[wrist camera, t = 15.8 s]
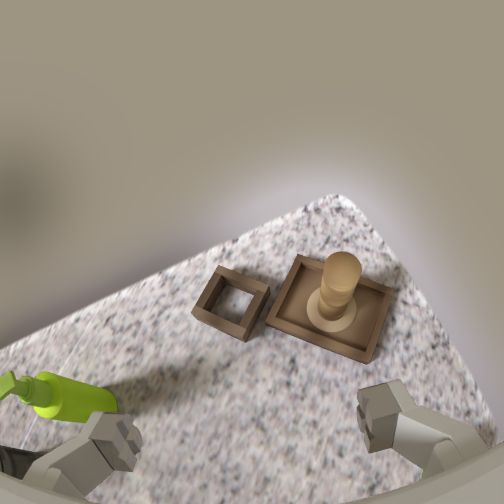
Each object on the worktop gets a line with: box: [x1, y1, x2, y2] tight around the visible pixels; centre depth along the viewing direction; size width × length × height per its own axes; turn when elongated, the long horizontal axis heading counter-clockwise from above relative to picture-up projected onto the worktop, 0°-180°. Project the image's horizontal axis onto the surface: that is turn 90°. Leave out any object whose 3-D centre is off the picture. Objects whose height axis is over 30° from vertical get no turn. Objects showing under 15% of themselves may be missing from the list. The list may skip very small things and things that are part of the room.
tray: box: [265, 254, 394, 364], centre depth 42 cm, size 15×11×2 cm
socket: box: [191, 265, 271, 342], centre depth 44 cm, size 8×8×3 cm
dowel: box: [317, 252, 362, 321], centre depth 37 cm, size 4×4×12 cm
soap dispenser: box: [0, 371, 117, 423], centre depth 31 cm, size 6×7×20 cm
